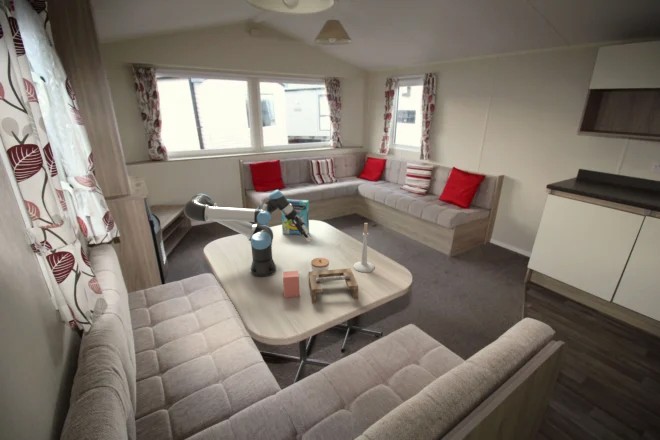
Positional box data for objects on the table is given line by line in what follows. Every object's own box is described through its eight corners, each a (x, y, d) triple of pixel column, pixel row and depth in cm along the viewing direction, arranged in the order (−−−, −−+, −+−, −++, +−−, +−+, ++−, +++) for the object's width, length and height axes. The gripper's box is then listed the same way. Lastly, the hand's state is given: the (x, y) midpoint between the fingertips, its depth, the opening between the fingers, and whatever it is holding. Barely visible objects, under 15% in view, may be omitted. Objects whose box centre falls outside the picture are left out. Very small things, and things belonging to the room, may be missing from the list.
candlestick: (378, 268, 189) (381, 224, 179) (361, 274, 183) (363, 228, 173) (365, 260, 200) (368, 217, 189) (349, 265, 194) (351, 221, 183)
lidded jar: (315, 279, 178) (315, 265, 174) (308, 271, 187) (308, 257, 183) (332, 275, 182) (332, 261, 179) (324, 267, 191) (324, 253, 188)
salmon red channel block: (284, 297, 161) (283, 277, 157) (284, 291, 166) (283, 271, 162) (299, 296, 162) (298, 276, 158) (298, 289, 168) (298, 270, 163)
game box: (282, 233, 241) (280, 200, 231) (284, 230, 246) (283, 198, 237) (307, 235, 237) (306, 202, 228) (309, 232, 243) (308, 200, 234)
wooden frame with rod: (312, 302, 156) (311, 286, 153) (308, 283, 173) (308, 268, 170) (357, 298, 160) (358, 282, 157) (350, 280, 177) (350, 265, 173)
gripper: (294, 214, 178) (315, 240, 185) (292, 203, 201) (311, 226, 208) (284, 221, 178) (306, 247, 185) (283, 209, 201) (302, 233, 209)
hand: (308, 236), depth 197 cm, fingers open, 13 cm apart
